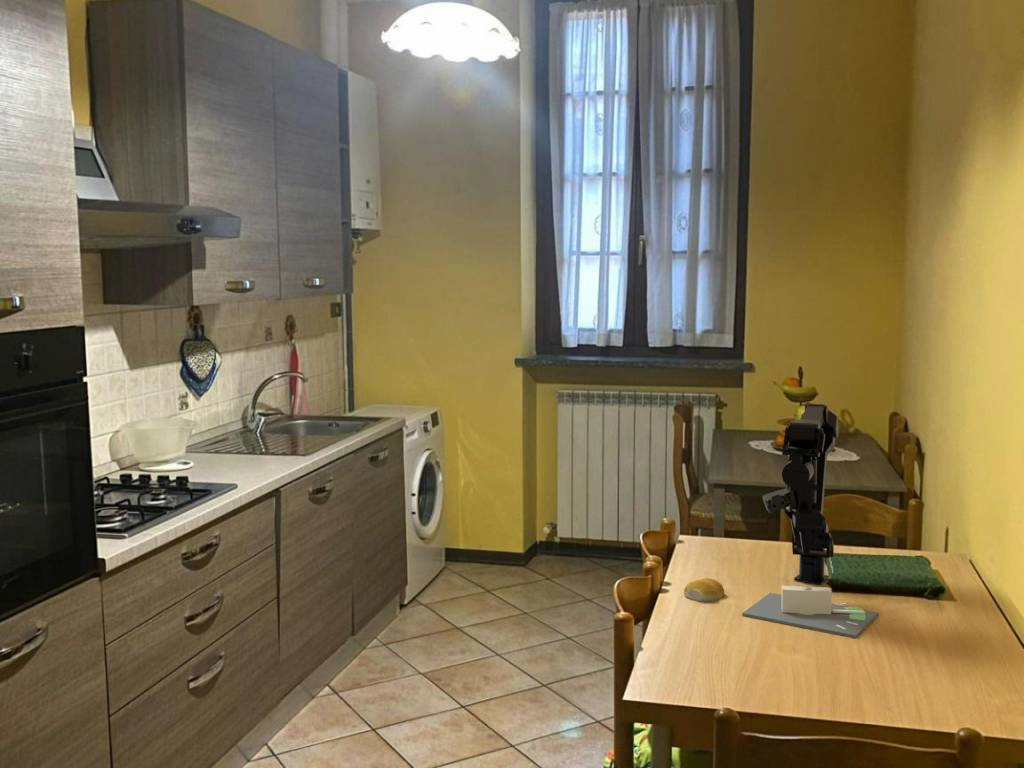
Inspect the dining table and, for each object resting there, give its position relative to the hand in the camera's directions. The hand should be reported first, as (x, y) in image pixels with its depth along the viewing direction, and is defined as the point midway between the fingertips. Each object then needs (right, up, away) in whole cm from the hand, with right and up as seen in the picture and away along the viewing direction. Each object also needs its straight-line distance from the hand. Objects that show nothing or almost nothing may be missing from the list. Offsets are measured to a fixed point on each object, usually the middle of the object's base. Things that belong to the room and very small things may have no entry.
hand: (801, 548), depth 224 cm
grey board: (0, -13, -7) cm, 15 cm away
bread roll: (-21, -12, +6) cm, 25 cm away
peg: (+2, -12, -8) cm, 15 cm away
